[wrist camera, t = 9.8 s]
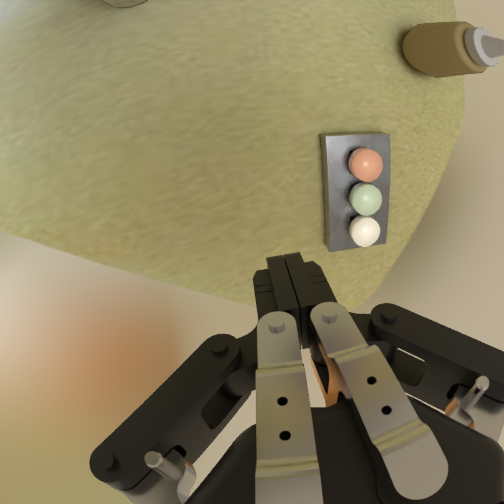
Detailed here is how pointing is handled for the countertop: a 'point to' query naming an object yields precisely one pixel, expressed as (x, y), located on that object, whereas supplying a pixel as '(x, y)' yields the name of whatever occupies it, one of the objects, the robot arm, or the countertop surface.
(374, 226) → the ivory button
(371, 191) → the sage button
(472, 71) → the squeeze bottle
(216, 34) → the countertop surface
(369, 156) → the terracotta button
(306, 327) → the robot arm
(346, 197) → the panel
